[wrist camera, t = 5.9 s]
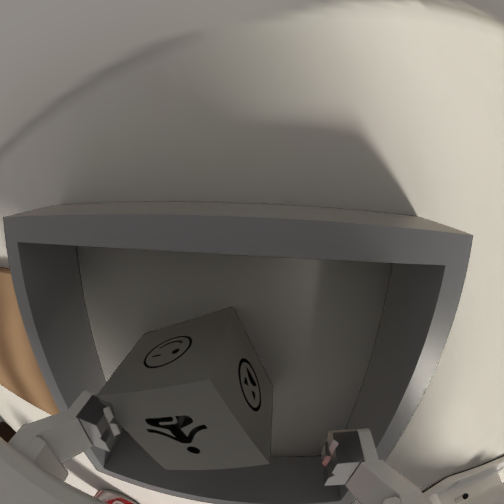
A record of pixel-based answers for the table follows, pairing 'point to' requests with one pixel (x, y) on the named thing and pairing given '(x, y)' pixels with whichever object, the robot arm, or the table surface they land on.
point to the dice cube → (195, 395)
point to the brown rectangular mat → (19, 352)
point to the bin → (253, 244)
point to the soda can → (113, 497)
